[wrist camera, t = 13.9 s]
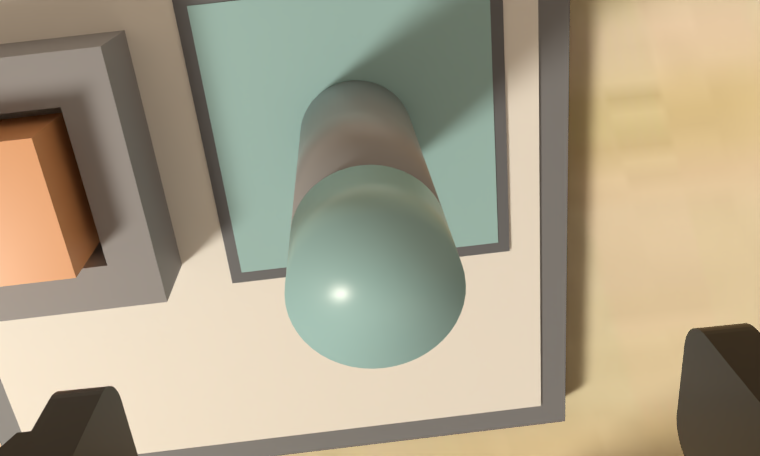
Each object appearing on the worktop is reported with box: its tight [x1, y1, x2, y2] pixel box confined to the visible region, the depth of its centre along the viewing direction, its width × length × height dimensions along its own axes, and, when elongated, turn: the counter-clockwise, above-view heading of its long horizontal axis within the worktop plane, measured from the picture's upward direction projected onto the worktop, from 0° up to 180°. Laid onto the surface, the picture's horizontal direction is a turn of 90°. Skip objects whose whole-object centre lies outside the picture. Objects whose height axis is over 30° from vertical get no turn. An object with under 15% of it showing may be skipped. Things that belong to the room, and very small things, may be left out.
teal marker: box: [284, 80, 466, 369], centre depth 19 cm, size 4×4×10 cm
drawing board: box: [0, 0, 570, 456], centre depth 23 cm, size 22×26×4 cm
